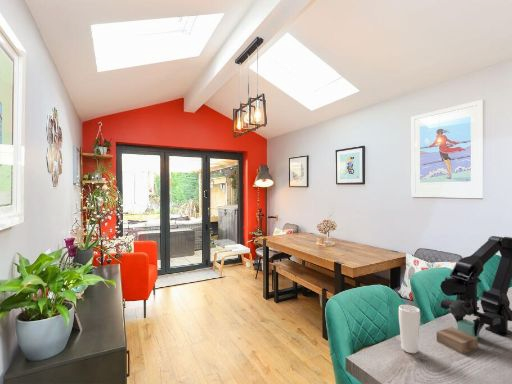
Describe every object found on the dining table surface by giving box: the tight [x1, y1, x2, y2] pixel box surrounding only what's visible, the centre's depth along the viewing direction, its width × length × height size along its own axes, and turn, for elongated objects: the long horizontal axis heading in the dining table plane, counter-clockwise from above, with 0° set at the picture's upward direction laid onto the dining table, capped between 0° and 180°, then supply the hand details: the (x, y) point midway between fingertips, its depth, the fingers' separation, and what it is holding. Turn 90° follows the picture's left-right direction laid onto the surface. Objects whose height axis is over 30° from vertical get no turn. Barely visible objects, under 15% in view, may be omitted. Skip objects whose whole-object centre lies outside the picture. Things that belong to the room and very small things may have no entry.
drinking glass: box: [398, 304, 421, 354], centre depth 99 cm, size 7×7×15 cm
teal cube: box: [457, 318, 480, 338], centre depth 109 cm, size 5×5×5 cm
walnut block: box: [436, 327, 479, 355], centre depth 102 cm, size 9×9×4 cm
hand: (468, 332), depth 109 cm, fingers closed on teal cube, 5 cm apart
